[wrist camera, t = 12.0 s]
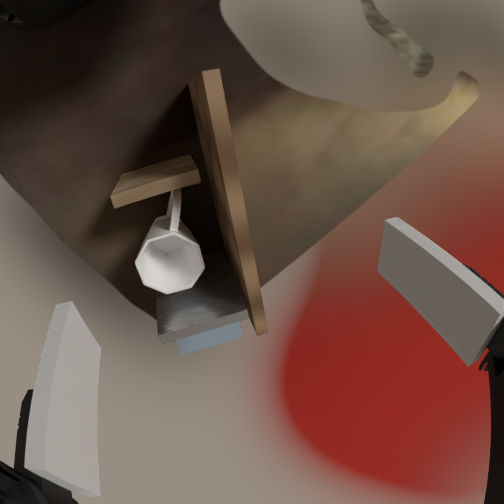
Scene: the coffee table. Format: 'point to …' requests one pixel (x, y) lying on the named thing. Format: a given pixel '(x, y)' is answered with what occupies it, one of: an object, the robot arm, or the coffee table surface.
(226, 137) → the shelf wall
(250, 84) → the coffee table surface
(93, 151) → the coffee table surface
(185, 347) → the shelved book
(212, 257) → the bookend
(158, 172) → the divider
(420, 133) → the coffee table surface
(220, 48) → the coffee table surface
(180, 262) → the cup
